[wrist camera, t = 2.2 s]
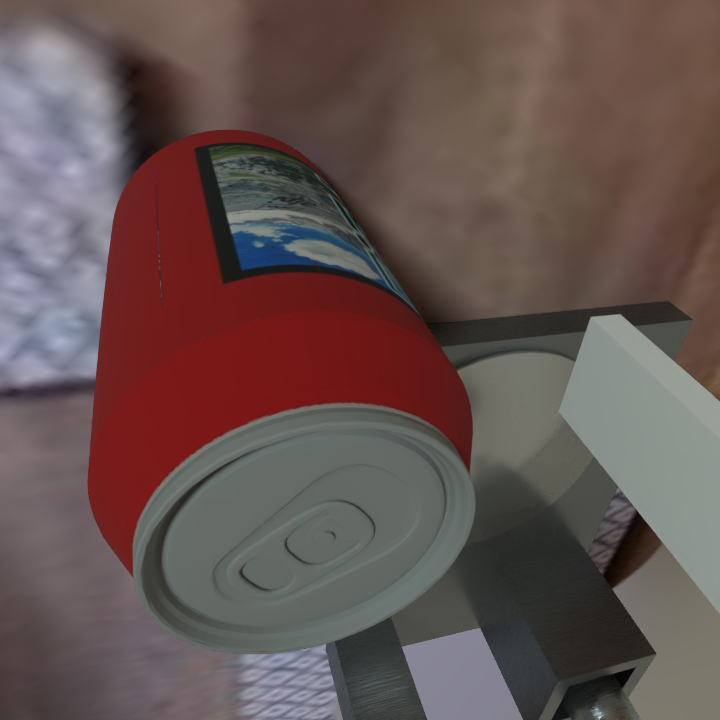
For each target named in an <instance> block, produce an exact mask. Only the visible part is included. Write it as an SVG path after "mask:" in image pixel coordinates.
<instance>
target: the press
mask: <svg viewBox="0 0 720 720" xmlns="http://www.w3.org/2000/svg"><path fill="white" fill-rule="evenodd" d="M618 314H621V315H622V316H623V317H624V318H625V319H626V320H627V321H629V322H630V323H631V324H632V325H633V326H634V327H635V328H636V329H638V330H639V331H640V332H641V333H642V334H643V335H644V336H646V337H647V338H648V339H649V340H650V341H651V342H652V343H654V344H655V345H656V346H657V347H658V348H659V349H660V350H662V351H663V352H664V353H665V354H666V355H667V356H668V357H670V358H671V359H672V360H673V361H675V359H676V357H677V355H678V352H679V350H680V348H681V346H682V343H683V341H684V339H685V337H686V335H687V332H688V330H689V328H690V326H691V324H692V321H693V319H691V318H690V317H689V316H687V315H686V314H685V313H683V312H682V311H681V310H679V309H678V308H677V307H675V306H674V305H673V304H671V303H670V302H669V301H667V302H657V303H646V304H636V305H625V306H615V307H605V308H594V309H584V310H573V311H563V312H553V313H542V314H532V315H522V316H511V317H501V318H490V319H480V320H470V321H459V322H449V323H438V324H428V325H427V327H428V328H429V330H430V331H431V333H432V334H433V336H434V337H435V339H436V340H437V342H438V343H439V345H440V347H441V348H442V350H443V351H444V353H445V354H446V356H447V357H448V359H449V360H450V362H451V363H452V365H453V366H454V368H455V369H456V371H457V372H458V374H459V376H460V378H461V380H462V381H463V384H464V386H465V388H466V391H467V394H468V397H469V401H470V405H471V412H472V420H473V439H472V451H471V464H470V476H471V479H472V482H473V485H474V490H475V496H476V507H475V516H474V521H473V525H472V528H471V531H470V534H469V536H468V538H467V541H466V543H465V545H464V547H463V548H462V550H461V552H460V553H459V555H458V557H457V558H456V560H455V561H454V562H453V564H452V565H451V566H450V567H449V569H448V570H447V571H446V572H445V573H444V574H443V576H442V577H441V578H440V579H439V580H438V581H437V582H436V583H435V584H434V585H432V586H431V587H430V588H429V589H428V590H427V591H426V592H425V593H424V594H422V595H421V596H420V597H419V598H417V599H416V600H415V601H413V602H412V603H411V604H409V605H408V606H406V607H405V608H403V609H402V610H400V611H399V612H397V613H395V614H394V615H392V616H390V617H389V618H387V619H385V620H383V621H381V622H379V623H377V624H375V625H373V626H371V627H369V628H367V629H365V630H363V631H360V632H358V633H355V634H353V635H350V636H347V637H345V638H342V639H340V640H337V641H333V642H330V643H327V644H326V653H327V657H328V661H329V665H330V669H331V673H332V677H333V681H334V685H335V689H336V693H337V697H338V701H339V705H340V709H341V713H342V717H343V720H427V718H426V715H425V712H424V710H423V707H422V704H421V701H420V698H419V696H418V693H417V690H416V687H415V684H414V681H413V678H412V675H411V673H410V670H409V667H408V664H407V661H406V658H405V655H404V653H403V650H402V646H405V645H409V644H414V643H418V642H422V641H426V640H431V639H435V638H439V637H443V636H447V635H451V634H455V633H459V632H463V631H467V630H472V629H476V628H481V630H482V632H483V635H484V637H485V639H486V641H487V643H488V645H489V647H490V649H491V652H492V654H493V656H494V658H495V660H496V662H497V664H498V666H499V669H500V671H501V673H502V675H503V677H504V679H505V682H506V684H507V686H508V688H509V690H510V692H511V694H512V696H513V698H514V701H515V703H516V705H517V707H518V709H519V711H520V713H521V716H522V718H523V720H571V718H570V716H569V715H568V713H567V711H566V709H565V707H564V705H563V703H562V699H563V697H564V695H565V693H566V691H567V689H568V687H569V686H571V685H575V684H578V683H582V682H585V681H589V680H593V679H596V678H600V677H603V676H607V675H610V674H613V675H614V676H615V678H616V679H617V681H618V683H619V684H620V686H621V688H622V689H623V691H624V692H625V694H626V696H627V697H629V695H630V694H631V692H632V691H633V689H634V688H635V686H636V685H637V683H638V682H639V680H640V678H641V677H642V675H643V674H644V672H645V671H646V669H647V668H648V666H649V665H650V663H651V662H652V660H653V659H654V657H655V655H656V652H655V651H654V649H653V648H652V647H651V645H650V644H649V642H648V641H647V639H646V638H645V636H644V635H643V633H642V632H641V631H640V629H639V628H638V626H637V625H636V623H635V622H634V620H633V619H632V618H631V616H630V615H629V614H628V612H627V610H626V609H625V607H624V606H623V604H622V603H621V602H620V600H619V599H618V597H617V596H616V594H615V593H614V591H613V590H612V589H611V587H610V586H609V584H608V583H607V581H606V580H605V578H604V577H603V575H602V574H601V573H600V571H599V570H598V568H597V567H596V565H595V564H594V562H593V561H592V560H591V558H590V557H589V555H588V554H587V553H588V551H589V549H590V547H591V544H592V542H593V540H594V538H595V536H596V533H597V531H598V529H599V527H600V525H601V522H602V520H603V518H604V516H605V514H606V511H607V509H608V507H609V505H610V503H611V500H612V498H613V496H614V494H615V491H616V489H617V487H618V486H617V484H616V483H615V482H614V481H613V479H612V478H611V477H610V476H609V474H608V473H607V472H606V471H605V469H604V468H603V467H602V466H601V464H600V463H599V462H598V461H597V459H596V458H595V457H594V455H593V454H592V453H591V452H590V450H589V449H588V448H587V447H586V445H585V444H584V443H583V442H582V440H581V439H580V438H579V437H578V435H577V434H576V433H575V432H574V430H573V429H572V428H571V427H570V425H569V424H568V423H567V422H566V420H565V419H564V418H563V417H562V415H561V414H560V413H559V409H560V406H561V403H562V400H563V397H564V394H565V391H566V388H567V386H568V383H569V380H570V377H571V374H572V371H573V368H574V365H575V362H576V359H577V356H578V353H579V350H580V347H581V344H582V341H583V338H584V335H585V332H586V329H587V326H588V324H589V321H590V318H591V317H595V316H607V315H618Z"/></svg>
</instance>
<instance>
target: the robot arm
mask: <svg viewBox="0 0 720 720" xmlns="http://www.w3.org/2000/svg"><path fill="white" fill-rule="evenodd" d="M559 413H560V414H561V415H562V417H563V418H564V419H565V420H566V422H567V423H568V424H569V425H570V427H571V428H572V429H573V430H574V432H575V433H576V434H577V435H578V437H579V438H580V439H581V440H582V442H583V443H584V444H585V445H586V447H587V448H588V449H589V450H590V452H591V453H592V454H593V455H594V457H595V458H596V459H597V461H598V462H599V463H600V464H601V466H602V467H603V468H604V469H605V471H606V472H607V473H608V474H609V476H610V477H611V478H612V479H613V481H614V482H615V483H616V484H617V486H618V487H619V488H620V489H621V491H622V492H623V493H624V494H625V496H626V497H627V498H628V499H629V501H630V502H631V503H632V505H633V506H634V507H635V508H636V510H637V511H638V512H639V513H640V515H641V516H642V517H643V518H644V520H645V521H646V522H647V523H648V525H649V526H650V527H651V528H652V530H653V531H654V532H655V533H656V535H657V536H658V537H659V538H660V540H661V541H662V542H663V543H664V545H665V546H666V547H667V549H668V550H669V551H670V552H671V553H672V555H673V556H674V557H675V558H676V560H677V561H678V562H679V563H680V565H681V566H682V567H683V568H684V570H685V571H686V572H687V574H688V575H689V576H690V577H691V579H692V580H693V581H694V582H695V584H696V585H697V586H698V587H699V589H700V590H701V591H702V593H703V594H704V595H705V596H706V598H707V599H708V600H709V601H710V603H711V604H712V605H713V606H714V608H715V609H716V610H717V611H718V613H719V614H720V401H719V400H717V399H716V398H715V397H714V396H713V395H712V394H711V393H709V392H708V391H707V390H706V389H705V388H704V387H703V386H701V385H700V384H699V383H698V382H697V381H696V380H695V379H693V378H692V377H691V376H690V375H689V374H688V373H687V372H686V371H684V370H683V369H682V368H681V367H680V366H679V365H678V364H676V363H675V362H674V361H673V360H672V359H671V358H670V357H668V356H667V355H666V354H665V353H664V352H663V351H662V350H660V349H659V348H658V347H657V346H656V345H655V344H654V343H652V342H651V341H650V340H649V339H648V338H647V337H646V336H644V335H643V334H642V333H641V332H640V331H639V330H638V329H636V328H635V327H634V326H633V325H632V324H631V323H630V322H629V321H627V320H626V319H625V318H624V317H623V316H622V315H621V314H618V315H607V316H595V317H591V318H590V321H589V324H588V326H587V329H586V332H585V335H584V338H583V341H582V344H581V347H580V350H579V353H578V356H577V359H576V362H575V365H574V368H573V371H572V374H571V377H570V380H569V383H568V386H567V388H566V391H565V394H564V397H563V400H562V403H561V406H560V409H559Z"/></svg>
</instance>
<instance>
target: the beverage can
mask: <svg viewBox="0 0 720 720" xmlns="http://www.w3.org/2000/svg"><path fill="white" fill-rule="evenodd" d="M472 439H473V420H472V412H471V405H470V401H469V397H468V394H467V391H466V388H465V386H464V384H463V381H462V380H461V378H460V376H459V374H458V372H457V371H456V369H455V368H454V366H453V365H452V363H451V362H450V360H449V359H448V357H447V356H446V354H445V353H444V351H443V350H442V348H441V347H440V345H439V343H438V342H437V340H436V339H435V337H434V336H433V334H432V333H431V331H430V330H429V328H428V327H427V325H426V324H425V322H424V321H423V319H422V318H421V316H420V315H419V313H418V312H417V310H416V309H415V307H414V306H413V304H412V303H411V301H410V299H409V298H408V296H407V295H406V293H405V292H404V290H403V289H402V287H401V286H400V284H399V283H398V282H397V280H396V279H395V277H394V276H393V274H392V273H391V271H390V270H389V269H388V267H387V266H386V264H385V263H384V261H383V260H382V258H381V257H380V255H379V254H378V253H377V251H376V250H375V248H374V247H373V245H372V244H371V242H370V241H369V240H368V238H367V237H366V235H365V234H364V232H363V231H362V229H361V228H360V226H359V225H358V224H357V222H356V221H355V219H354V218H353V216H352V215H351V214H350V212H349V211H348V209H347V208H346V207H345V205H344V204H343V202H342V201H341V200H340V198H339V197H338V195H337V194H336V193H335V191H334V190H333V189H332V187H331V186H330V184H329V183H328V182H327V180H326V179H325V178H324V176H323V175H322V174H321V172H320V171H319V170H318V169H317V168H316V167H315V165H313V164H312V163H311V162H310V161H309V160H308V159H307V158H306V157H305V156H303V155H302V154H301V153H300V152H298V151H297V150H295V149H294V148H292V147H290V146H289V145H287V144H285V143H283V142H281V141H279V140H276V139H274V138H271V137H268V136H265V135H262V134H258V133H254V132H248V131H241V130H216V131H208V132H203V133H198V134H194V135H191V136H188V137H185V138H182V139H180V140H178V141H175V142H173V143H171V144H170V145H168V146H166V147H164V148H163V149H161V150H160V151H158V152H157V153H155V154H154V155H153V156H151V157H150V158H149V159H148V160H147V161H146V162H145V163H144V164H143V165H142V166H141V167H140V168H139V169H138V170H137V171H136V172H135V173H134V175H133V176H132V177H131V179H130V180H129V182H128V183H127V185H126V187H125V188H124V190H123V192H122V194H121V197H120V199H119V201H118V204H117V207H116V211H115V215H114V220H113V226H112V234H111V241H110V249H109V256H108V265H107V273H106V282H105V291H104V300H103V309H102V319H101V329H100V340H99V350H98V361H97V372H96V382H95V394H94V406H93V419H92V431H91V443H90V456H89V468H88V495H89V501H90V506H91V509H92V512H93V515H94V518H95V521H96V523H97V525H98V527H99V529H100V531H101V533H102V535H103V537H104V538H105V540H106V541H107V543H108V545H109V546H110V547H111V549H112V550H113V551H114V553H115V554H116V555H117V557H118V558H119V559H120V561H121V562H122V563H123V565H124V566H125V567H126V569H127V570H128V571H129V573H130V574H131V575H132V577H133V578H134V585H135V589H136V592H137V596H138V598H139V600H140V602H141V604H142V606H143V607H144V609H145V610H146V612H147V614H148V615H149V616H150V617H151V618H152V619H153V620H154V621H155V622H156V623H157V624H158V625H159V626H160V627H161V628H163V629H164V630H166V631H167V632H168V633H170V634H171V635H173V636H175V637H177V638H179V639H181V640H183V641H185V642H188V643H190V644H192V645H195V646H199V647H203V648H206V649H210V650H214V651H220V652H227V653H235V654H272V653H282V652H290V651H296V650H301V649H306V648H311V647H315V646H319V645H323V644H327V643H330V642H333V641H337V640H340V639H342V638H345V637H347V636H350V635H353V634H355V633H358V632H360V631H363V630H365V629H367V628H369V627H371V626H373V625H375V624H377V623H379V622H381V621H383V620H385V619H387V618H389V617H390V616H392V615H394V614H395V613H397V612H399V611H400V610H402V609H403V608H405V607H406V606H408V605H409V604H411V603H412V602H413V601H415V600H416V599H417V598H419V597H420V596H421V595H422V594H424V593H425V592H426V591H427V590H428V589H429V588H430V587H431V586H432V585H434V584H435V583H436V582H437V581H438V580H439V579H440V578H441V577H442V576H443V574H444V573H445V572H446V571H447V570H448V569H449V567H450V566H451V565H452V564H453V562H454V561H455V560H456V558H457V557H458V555H459V553H460V552H461V550H462V548H463V547H464V545H465V543H466V541H467V538H468V536H469V534H470V531H471V528H472V525H473V521H474V516H475V507H476V496H475V490H474V485H473V482H472V479H471V476H470V464H471V451H472Z"/></svg>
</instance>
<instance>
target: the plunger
mask: <svg viewBox="0 0 720 720" xmlns="http://www.w3.org/2000/svg"><path fill="white" fill-rule="evenodd" d="M562 703H563V705H564V707H565V709H566V711H567V713H568V715H569V716H570V718H571V720H641V719H640V717H639V715H638V714H637V712H636V710H635V709H634V707H633V706H632V704H631V702H630V701H629V699H628V697H627V696H626V694H625V692H624V691H623V689H622V688H621V686H620V684H619V683H618V681H617V679H616V678H615V676H614V675H613V674H610V675H607V676H603V677H600V678H596V679H593V680H589V681H585V682H582V683H578V684H575V685H571V686H569V687H568V689H567V691H566V693H565V695H564V697H563V699H562Z"/></svg>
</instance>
